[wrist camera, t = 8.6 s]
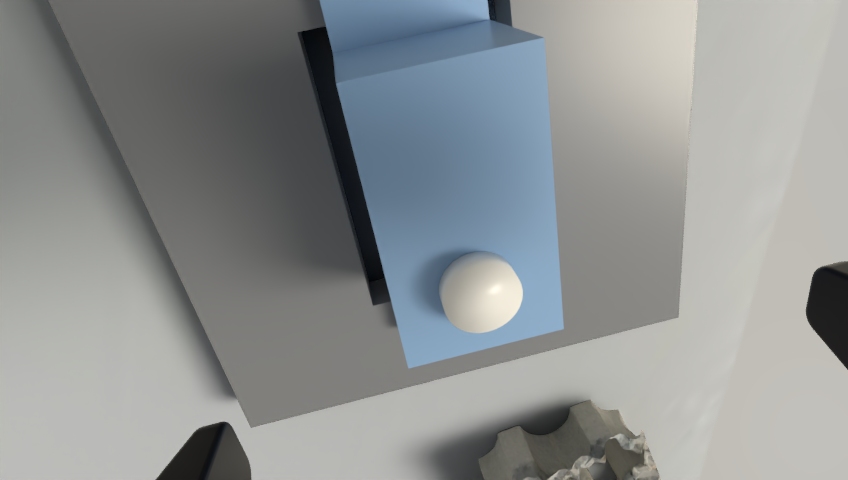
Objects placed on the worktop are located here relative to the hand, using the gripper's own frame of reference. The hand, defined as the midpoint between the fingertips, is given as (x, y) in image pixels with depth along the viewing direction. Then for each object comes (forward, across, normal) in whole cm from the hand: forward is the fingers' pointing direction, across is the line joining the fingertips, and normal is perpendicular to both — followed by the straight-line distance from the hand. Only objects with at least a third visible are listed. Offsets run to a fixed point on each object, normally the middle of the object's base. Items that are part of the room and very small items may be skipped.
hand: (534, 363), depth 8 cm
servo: (+10, 0, 0) cm, 10 cm away
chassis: (+10, 0, 0) cm, 10 cm away
